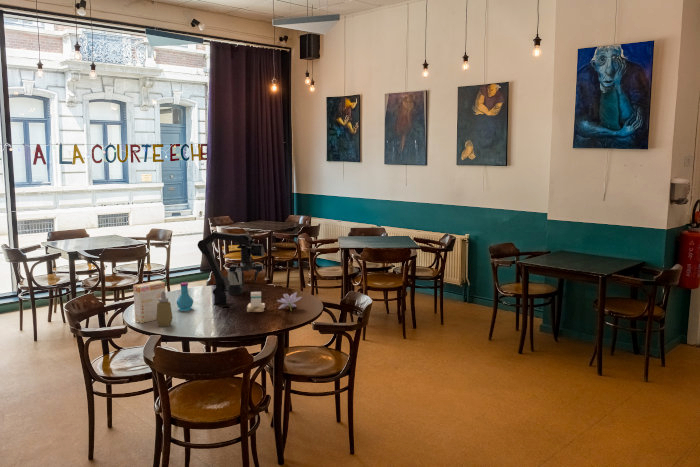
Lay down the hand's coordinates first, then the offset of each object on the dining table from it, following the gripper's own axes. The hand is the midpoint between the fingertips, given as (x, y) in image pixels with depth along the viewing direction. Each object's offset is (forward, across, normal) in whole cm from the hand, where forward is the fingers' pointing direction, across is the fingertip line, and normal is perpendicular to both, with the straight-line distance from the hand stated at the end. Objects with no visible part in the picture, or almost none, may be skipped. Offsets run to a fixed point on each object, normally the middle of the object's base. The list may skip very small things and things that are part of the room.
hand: (246, 282), depth 349 cm
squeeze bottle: (+13, -38, -38) cm, 55 cm away
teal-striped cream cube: (+10, +6, -11) cm, 16 cm away
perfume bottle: (+13, -34, -7) cm, 37 cm away
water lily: (+13, +25, -11) cm, 30 cm away
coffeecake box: (+13, -48, -26) cm, 56 cm away
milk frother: (+13, -14, +31) cm, 37 cm away
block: (+14, +6, -11) cm, 18 cm away
